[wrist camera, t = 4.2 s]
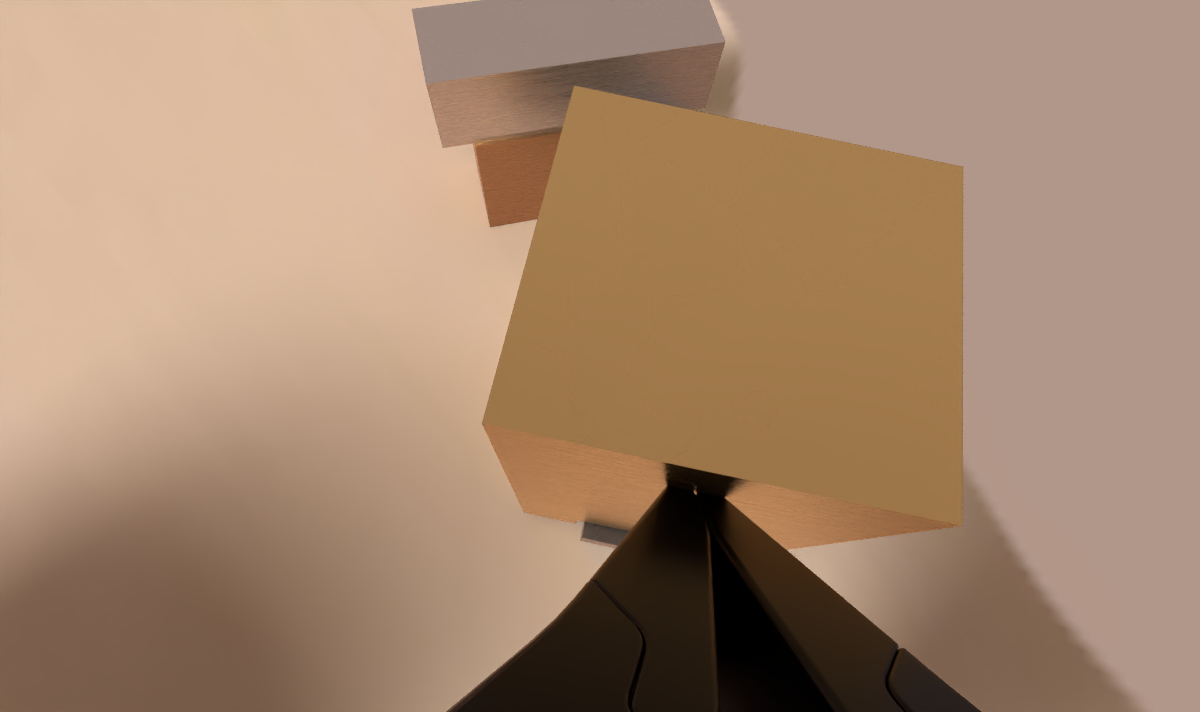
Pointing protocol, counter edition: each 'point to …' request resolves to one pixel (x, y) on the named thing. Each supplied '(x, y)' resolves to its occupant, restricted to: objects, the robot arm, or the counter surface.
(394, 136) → the counter surface
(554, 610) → the counter surface
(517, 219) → the rig
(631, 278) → the tan rectangular block
